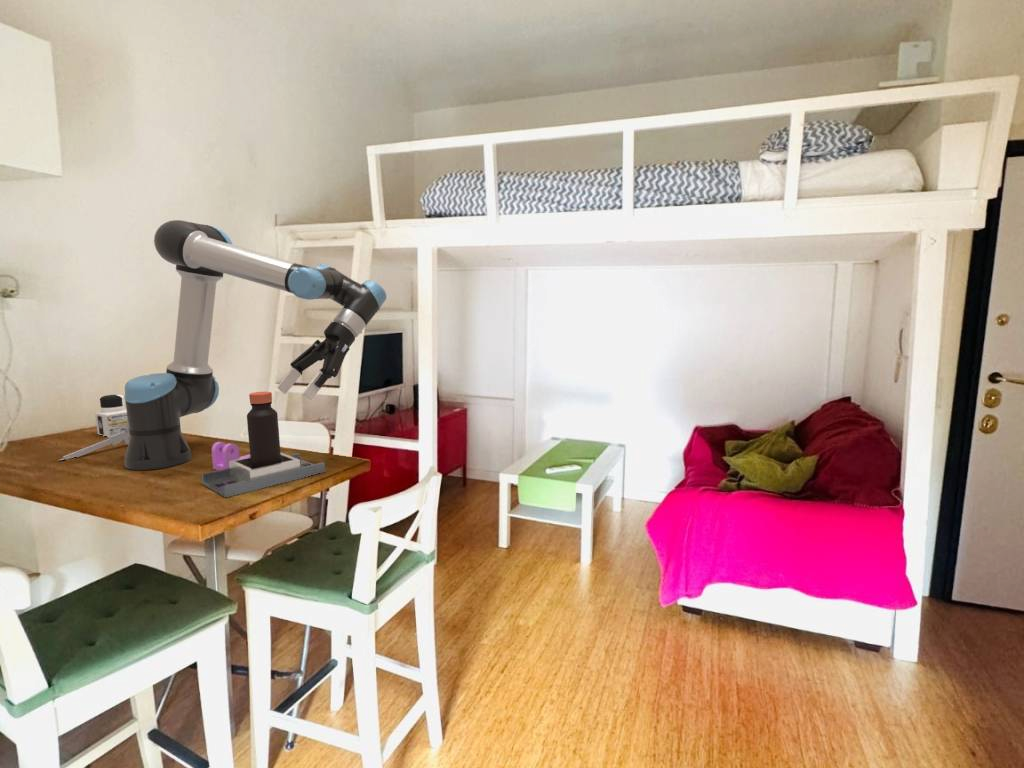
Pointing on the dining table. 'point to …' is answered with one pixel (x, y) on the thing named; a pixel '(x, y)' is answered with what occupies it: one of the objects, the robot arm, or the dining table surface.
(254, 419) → the vinegar
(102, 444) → the caliper
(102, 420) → the container
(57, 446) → the dining table surface
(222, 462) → the bracket
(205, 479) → the grey base plate
